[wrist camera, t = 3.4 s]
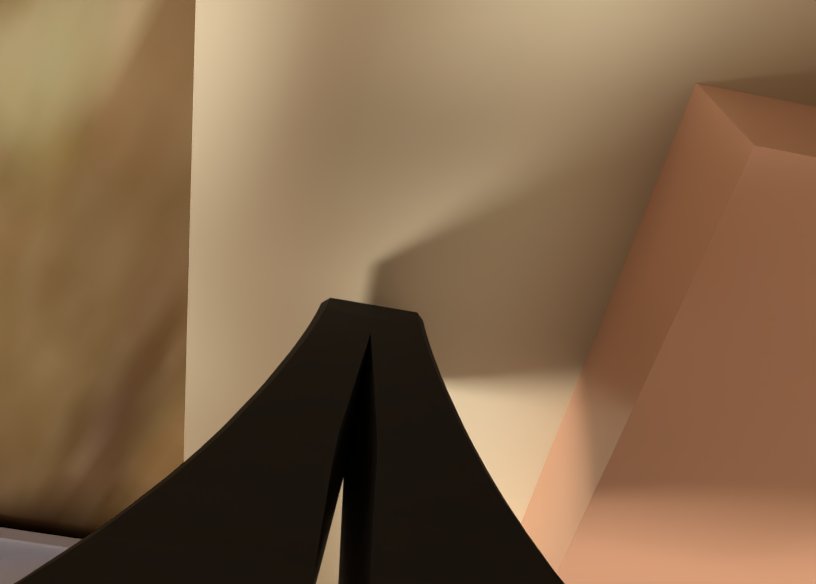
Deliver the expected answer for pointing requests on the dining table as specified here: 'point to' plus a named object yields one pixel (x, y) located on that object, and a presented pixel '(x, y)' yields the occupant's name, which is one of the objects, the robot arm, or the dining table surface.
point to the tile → (700, 371)
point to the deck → (445, 184)
